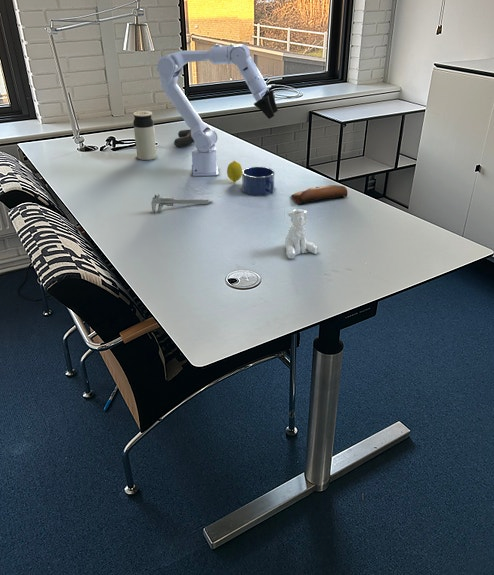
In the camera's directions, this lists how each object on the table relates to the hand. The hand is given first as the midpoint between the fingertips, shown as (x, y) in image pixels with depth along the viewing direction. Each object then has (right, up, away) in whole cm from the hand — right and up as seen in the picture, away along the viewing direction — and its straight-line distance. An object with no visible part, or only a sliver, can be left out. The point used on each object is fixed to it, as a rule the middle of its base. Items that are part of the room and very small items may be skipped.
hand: (273, 114), depth 185 cm
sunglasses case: (+15, -30, -5) cm, 34 cm away
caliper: (-30, -35, -12) cm, 48 cm away
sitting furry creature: (+5, -51, -38) cm, 63 cm away
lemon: (-14, -22, +8) cm, 28 cm away
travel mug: (-51, -7, +33) cm, 61 cm away
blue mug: (-4, -27, +1) cm, 27 cm away
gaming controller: (-36, +4, +50) cm, 62 cm away
